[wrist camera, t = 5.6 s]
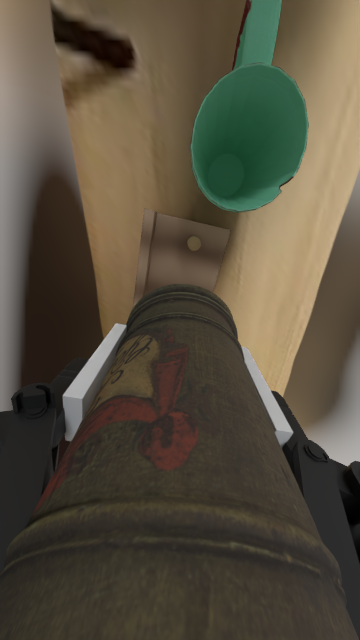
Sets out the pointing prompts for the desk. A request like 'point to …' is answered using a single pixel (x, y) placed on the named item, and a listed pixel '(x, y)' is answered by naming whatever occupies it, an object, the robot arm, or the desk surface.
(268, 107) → the mug
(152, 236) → the ledge
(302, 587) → the container
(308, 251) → the desk surface
